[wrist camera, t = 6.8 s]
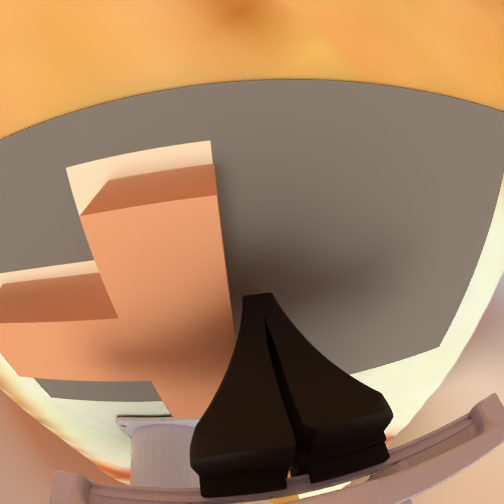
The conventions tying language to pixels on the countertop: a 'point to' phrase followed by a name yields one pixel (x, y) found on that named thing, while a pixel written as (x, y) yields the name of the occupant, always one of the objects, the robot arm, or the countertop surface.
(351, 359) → the slate mat
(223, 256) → the t block
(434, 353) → the countertop surface
